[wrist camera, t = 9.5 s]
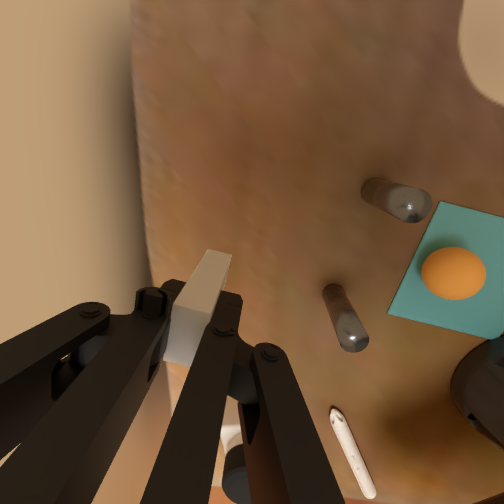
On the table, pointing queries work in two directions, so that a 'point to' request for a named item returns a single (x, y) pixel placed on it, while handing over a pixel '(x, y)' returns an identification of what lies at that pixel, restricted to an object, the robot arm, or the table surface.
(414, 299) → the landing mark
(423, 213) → the post
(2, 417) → the robot arm
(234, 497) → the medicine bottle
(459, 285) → the ball
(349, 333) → the post
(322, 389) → the table surface
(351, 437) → the marker
